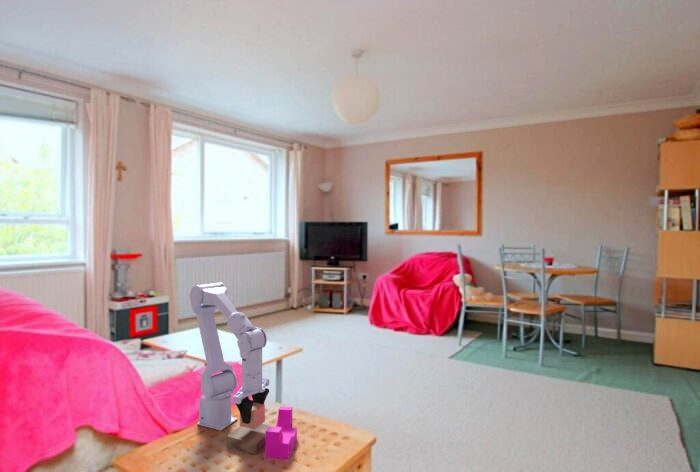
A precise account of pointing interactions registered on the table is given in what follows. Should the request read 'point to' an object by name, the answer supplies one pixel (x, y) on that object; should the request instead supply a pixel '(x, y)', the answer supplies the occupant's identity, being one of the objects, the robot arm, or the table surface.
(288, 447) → the toy block
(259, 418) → the terracotta cube
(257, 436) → the taupe block
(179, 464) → the table surface
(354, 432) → the table surface
